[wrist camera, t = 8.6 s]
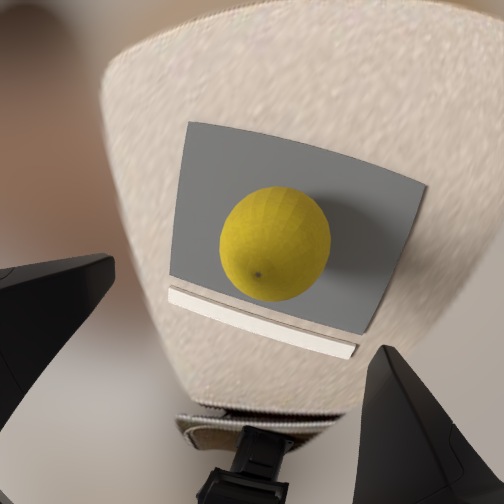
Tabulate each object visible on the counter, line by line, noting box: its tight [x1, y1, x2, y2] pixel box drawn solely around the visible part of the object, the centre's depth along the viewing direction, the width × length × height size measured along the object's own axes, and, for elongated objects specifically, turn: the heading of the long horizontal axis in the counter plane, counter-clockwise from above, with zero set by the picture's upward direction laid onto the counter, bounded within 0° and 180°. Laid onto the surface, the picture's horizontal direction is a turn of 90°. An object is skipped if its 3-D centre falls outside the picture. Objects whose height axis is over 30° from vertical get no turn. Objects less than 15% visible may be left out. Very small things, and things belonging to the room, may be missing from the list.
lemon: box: [219, 186, 331, 302], centre depth 14 cm, size 6×6×8 cm
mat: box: [169, 122, 425, 335], centre depth 19 cm, size 12×16×1 cm
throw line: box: [168, 285, 356, 360], centre depth 22 cm, size 2×16×1 cm, turn 79°
